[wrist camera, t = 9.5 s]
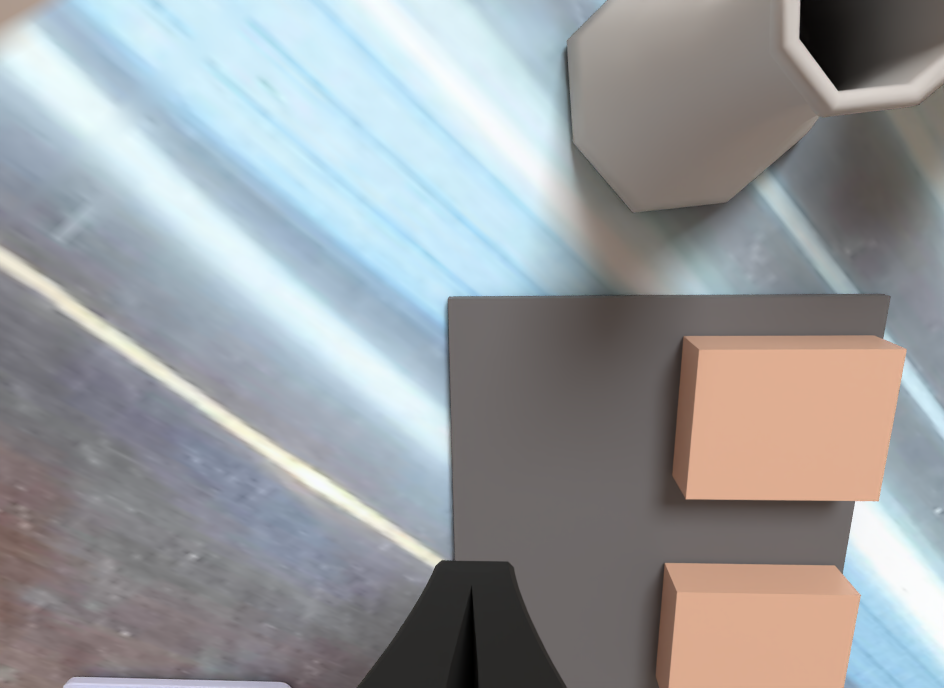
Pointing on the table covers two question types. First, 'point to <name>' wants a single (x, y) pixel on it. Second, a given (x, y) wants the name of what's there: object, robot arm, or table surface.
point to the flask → (735, 85)
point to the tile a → (755, 626)
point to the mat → (612, 461)
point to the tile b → (785, 417)
